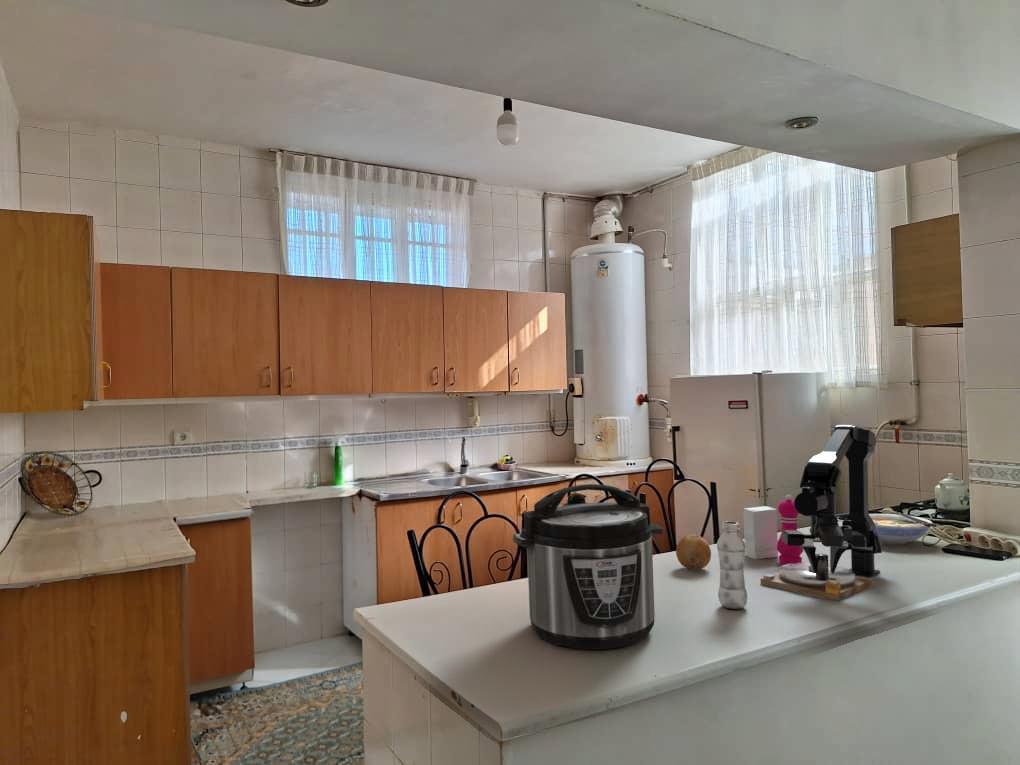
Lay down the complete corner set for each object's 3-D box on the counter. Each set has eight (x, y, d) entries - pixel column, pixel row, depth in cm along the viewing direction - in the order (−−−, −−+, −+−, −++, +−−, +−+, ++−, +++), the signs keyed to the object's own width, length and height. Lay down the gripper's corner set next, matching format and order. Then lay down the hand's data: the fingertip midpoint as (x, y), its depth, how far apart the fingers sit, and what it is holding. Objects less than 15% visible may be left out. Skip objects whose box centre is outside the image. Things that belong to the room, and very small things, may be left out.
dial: (774, 567, 190) (774, 539, 190) (845, 570, 186) (844, 541, 186) (785, 586, 173) (784, 555, 173) (863, 589, 168) (862, 557, 168)
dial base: (799, 570, 193) (799, 556, 193) (873, 584, 178) (872, 569, 178) (760, 584, 181) (760, 569, 181) (836, 601, 165) (835, 584, 165)
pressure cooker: (501, 647, 141) (498, 492, 141) (545, 605, 167) (542, 475, 167) (648, 665, 130) (644, 497, 130) (670, 618, 156) (667, 478, 156)
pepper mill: (806, 566, 197) (804, 496, 198) (779, 565, 199) (777, 496, 199) (800, 560, 205) (799, 493, 205) (775, 559, 206) (773, 492, 206)
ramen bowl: (842, 534, 239) (841, 510, 239) (912, 534, 236) (912, 510, 236) (870, 550, 214) (869, 524, 214) (949, 551, 211) (948, 525, 211)
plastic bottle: (733, 613, 158) (731, 526, 158) (712, 605, 164) (710, 521, 164) (753, 609, 161) (751, 523, 161) (732, 601, 167) (730, 519, 167)
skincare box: (767, 553, 214) (766, 505, 214) (779, 557, 208) (778, 508, 208) (743, 555, 212) (742, 507, 212) (754, 559, 206) (753, 510, 206)
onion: (707, 565, 201) (707, 530, 202) (714, 574, 192) (713, 538, 192) (674, 564, 202) (673, 530, 203) (679, 573, 193) (678, 538, 193)
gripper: (793, 516, 165) (794, 581, 165) (875, 517, 163) (876, 583, 163) (781, 507, 176) (781, 568, 176) (857, 509, 174) (857, 570, 174)
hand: (823, 572), depth 172 cm, fingers open, 4 cm apart
